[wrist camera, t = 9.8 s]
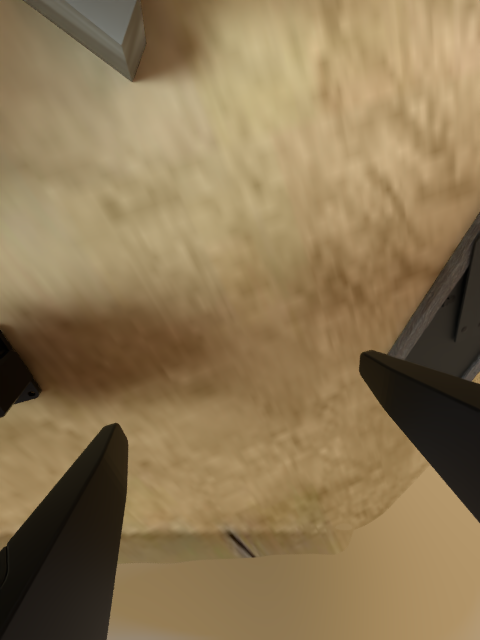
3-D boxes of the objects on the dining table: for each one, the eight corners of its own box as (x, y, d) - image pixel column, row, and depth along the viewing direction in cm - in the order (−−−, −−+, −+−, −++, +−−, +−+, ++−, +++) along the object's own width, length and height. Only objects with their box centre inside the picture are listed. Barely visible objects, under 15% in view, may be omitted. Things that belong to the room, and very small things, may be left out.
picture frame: (488, 188, 24) (372, 367, 31) (513, 188, 23) (385, 378, 29) (560, 246, 30) (450, 386, 37) (584, 249, 29) (464, 395, 35)
